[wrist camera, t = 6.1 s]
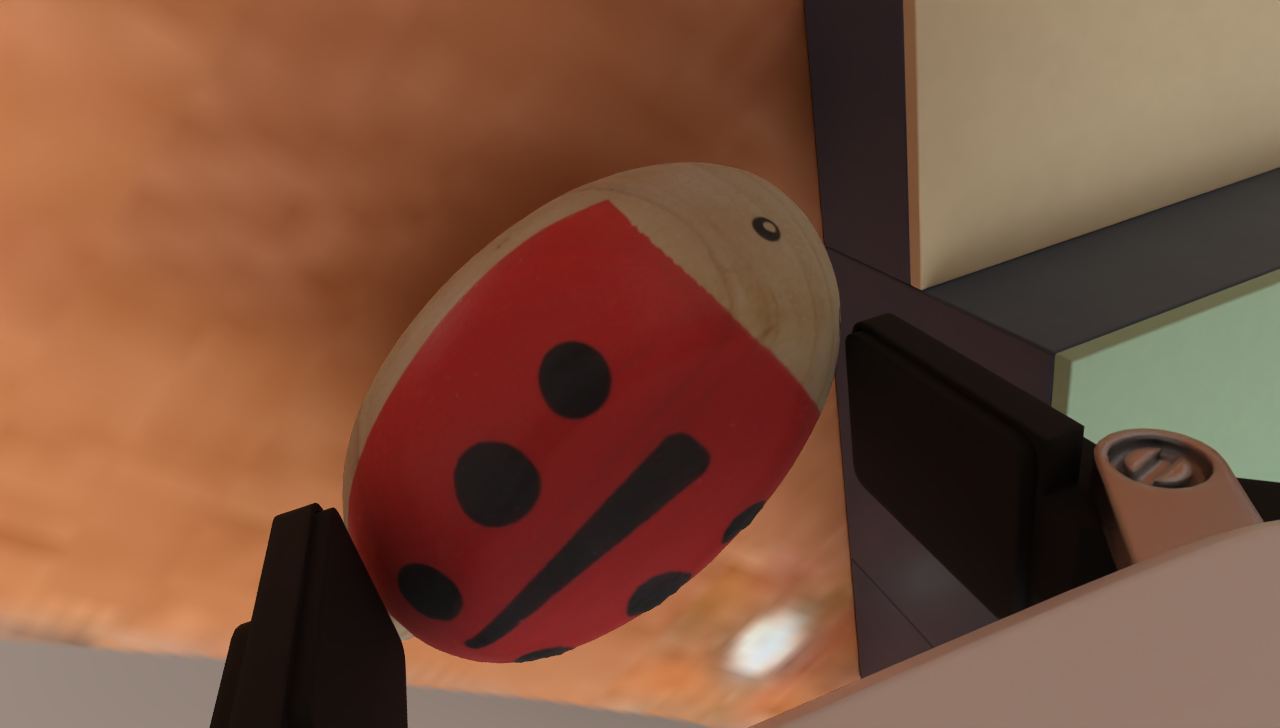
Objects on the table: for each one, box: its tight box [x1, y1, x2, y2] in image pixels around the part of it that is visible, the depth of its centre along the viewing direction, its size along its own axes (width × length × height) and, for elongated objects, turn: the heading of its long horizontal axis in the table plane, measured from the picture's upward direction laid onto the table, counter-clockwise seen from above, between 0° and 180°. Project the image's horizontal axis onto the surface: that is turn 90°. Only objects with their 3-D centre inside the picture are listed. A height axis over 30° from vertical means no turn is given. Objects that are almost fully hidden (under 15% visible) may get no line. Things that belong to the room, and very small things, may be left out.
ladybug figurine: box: [343, 162, 841, 663], centre depth 12 cm, size 7×10×4 cm
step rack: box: [804, 0, 1280, 679], centre depth 18 cm, size 23×15×12 cm, turn 12°
